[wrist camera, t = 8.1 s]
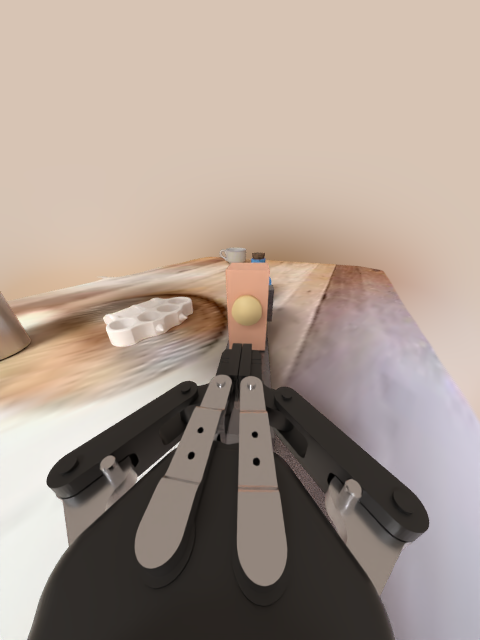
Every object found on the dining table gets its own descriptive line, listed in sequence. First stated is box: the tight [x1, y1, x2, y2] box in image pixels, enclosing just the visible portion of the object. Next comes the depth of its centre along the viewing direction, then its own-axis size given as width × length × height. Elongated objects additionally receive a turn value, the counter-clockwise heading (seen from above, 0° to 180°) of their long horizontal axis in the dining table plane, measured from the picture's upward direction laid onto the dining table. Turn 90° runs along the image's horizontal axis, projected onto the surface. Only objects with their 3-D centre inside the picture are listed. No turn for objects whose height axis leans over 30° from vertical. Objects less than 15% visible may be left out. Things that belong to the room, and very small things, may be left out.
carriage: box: [226, 263, 270, 351], centre depth 25 cm, size 6×5×11 cm
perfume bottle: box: [251, 253, 271, 285], centre depth 46 cm, size 6×6×12 cm
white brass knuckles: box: [103, 297, 193, 347], centre depth 38 cm, size 3×18×15 cm
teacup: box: [220, 248, 246, 264], centre depth 97 cm, size 14×11×8 cm
